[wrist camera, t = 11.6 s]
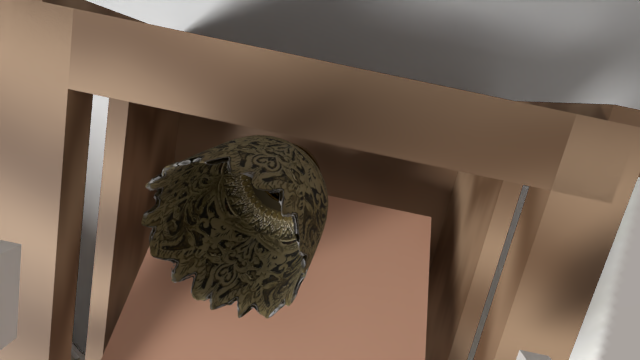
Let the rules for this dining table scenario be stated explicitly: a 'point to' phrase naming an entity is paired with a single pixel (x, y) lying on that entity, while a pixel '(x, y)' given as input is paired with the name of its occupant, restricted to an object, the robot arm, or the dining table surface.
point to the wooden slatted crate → (334, 161)
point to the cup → (240, 221)
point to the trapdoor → (298, 301)
